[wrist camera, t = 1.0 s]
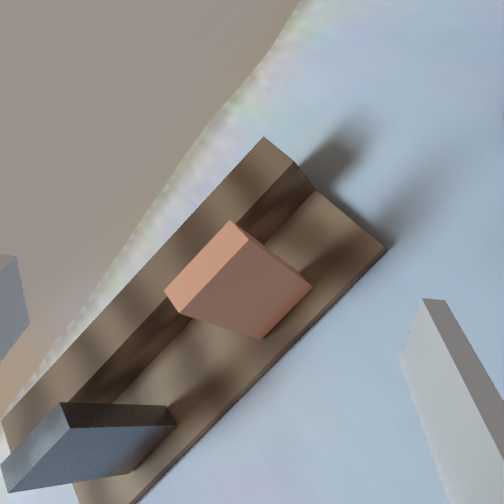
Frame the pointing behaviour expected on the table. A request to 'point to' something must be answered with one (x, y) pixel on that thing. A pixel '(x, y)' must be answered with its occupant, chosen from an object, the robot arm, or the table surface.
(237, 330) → the terracotta key
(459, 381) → the robot arm
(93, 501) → the brown piece
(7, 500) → the table surface
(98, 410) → the grey rectangular slab
